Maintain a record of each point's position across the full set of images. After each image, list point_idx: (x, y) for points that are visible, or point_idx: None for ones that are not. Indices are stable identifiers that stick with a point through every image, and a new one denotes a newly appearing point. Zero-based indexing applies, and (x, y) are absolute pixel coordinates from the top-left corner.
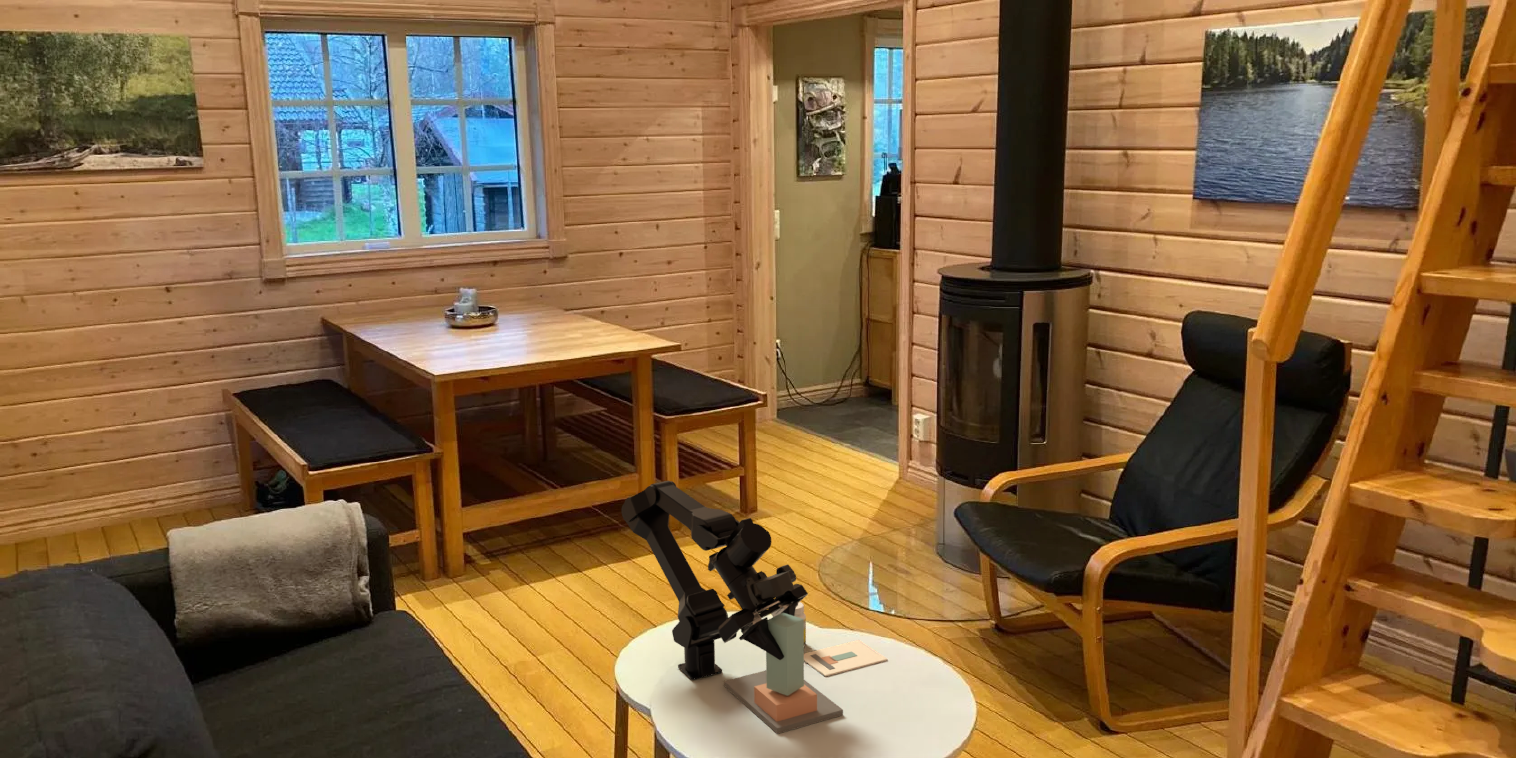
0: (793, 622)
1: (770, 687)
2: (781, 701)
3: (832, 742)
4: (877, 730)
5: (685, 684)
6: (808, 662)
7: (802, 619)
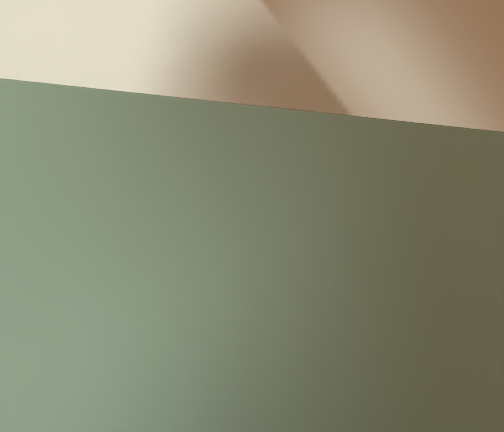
0: (385, 196)
1: None
2: None
3: (303, 93)
4: (138, 6)
5: None
6: None
7: (23, 87)
